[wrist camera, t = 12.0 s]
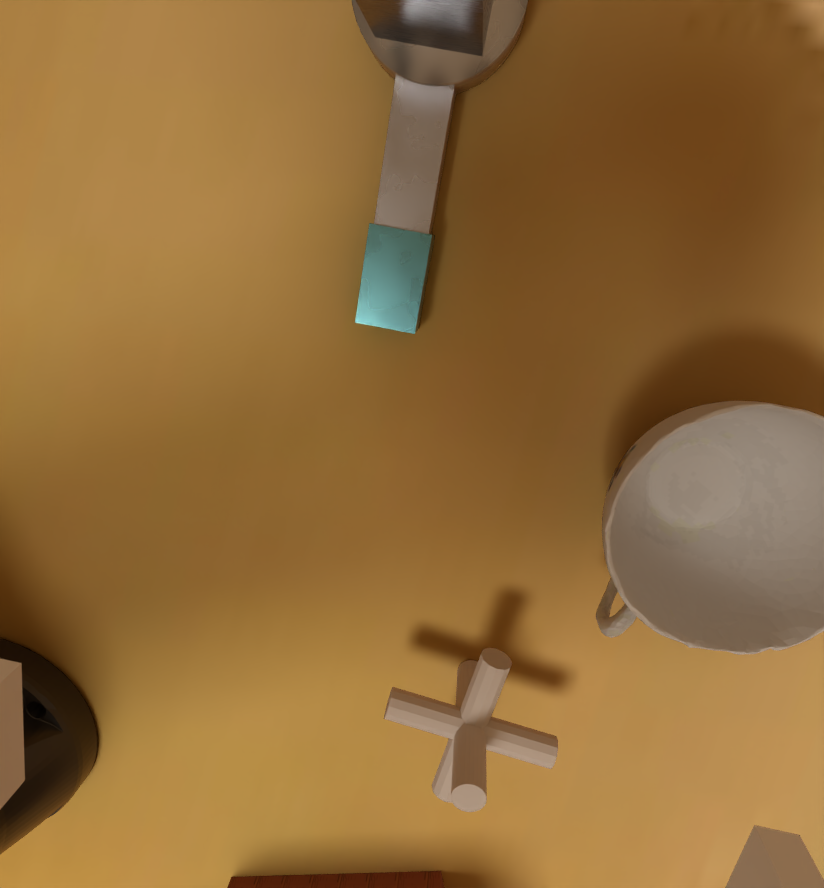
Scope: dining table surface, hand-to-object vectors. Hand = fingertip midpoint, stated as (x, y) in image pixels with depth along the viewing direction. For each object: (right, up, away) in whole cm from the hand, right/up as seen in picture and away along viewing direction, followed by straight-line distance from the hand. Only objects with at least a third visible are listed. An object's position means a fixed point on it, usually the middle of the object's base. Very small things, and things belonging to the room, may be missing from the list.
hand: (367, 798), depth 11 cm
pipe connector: (+5, -9, +31) cm, 32 cm away
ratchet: (+1, +22, +21) cm, 31 cm away
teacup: (+16, +4, +26) cm, 30 cm away
